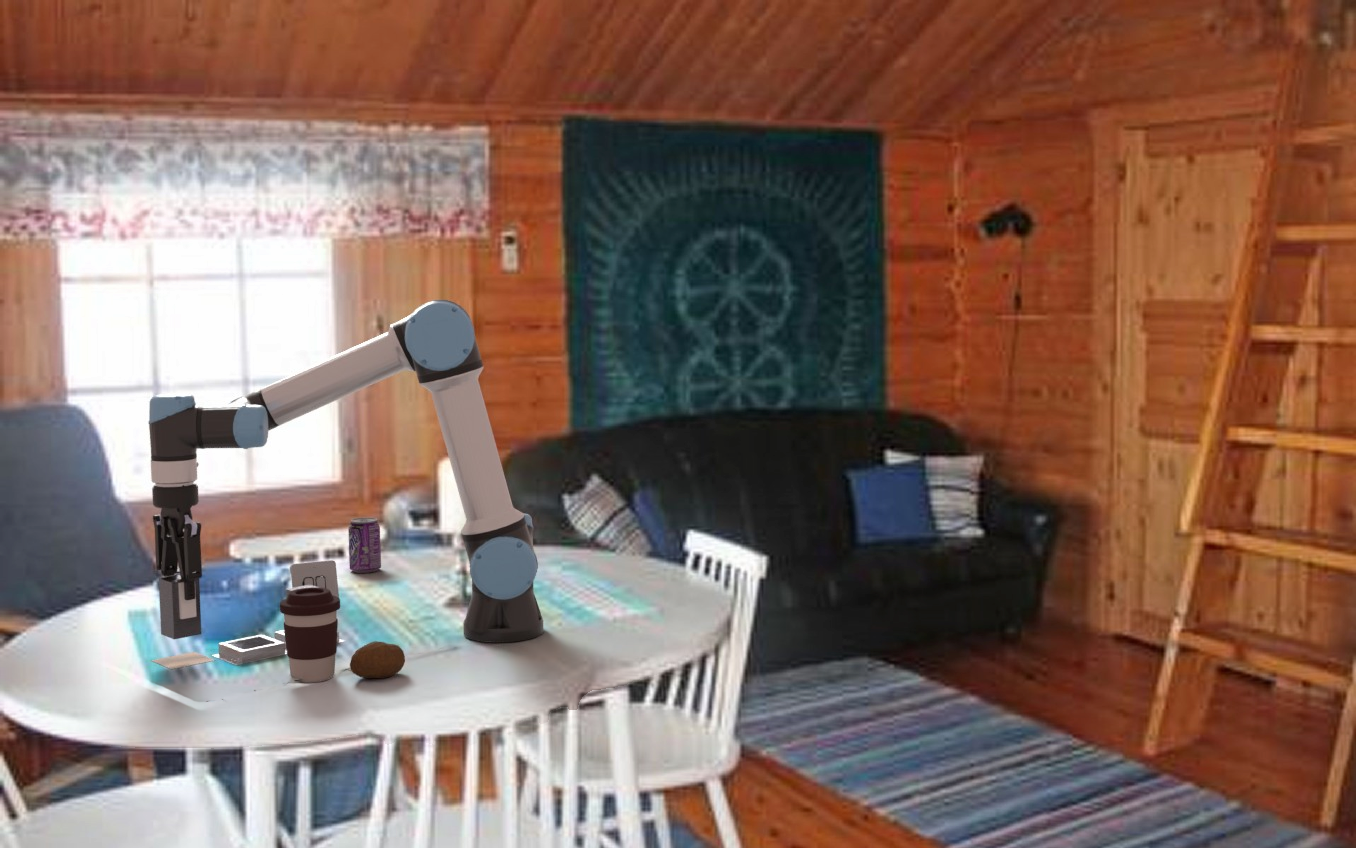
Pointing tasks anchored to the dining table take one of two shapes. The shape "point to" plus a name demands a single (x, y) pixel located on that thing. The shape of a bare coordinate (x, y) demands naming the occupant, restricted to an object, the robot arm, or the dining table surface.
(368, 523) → the beverage can
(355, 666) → the potato
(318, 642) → the coffee cup
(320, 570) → the electrical switch
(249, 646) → the white recessed tray
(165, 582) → the block
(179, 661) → the walnut pad
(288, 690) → the dining table surface
